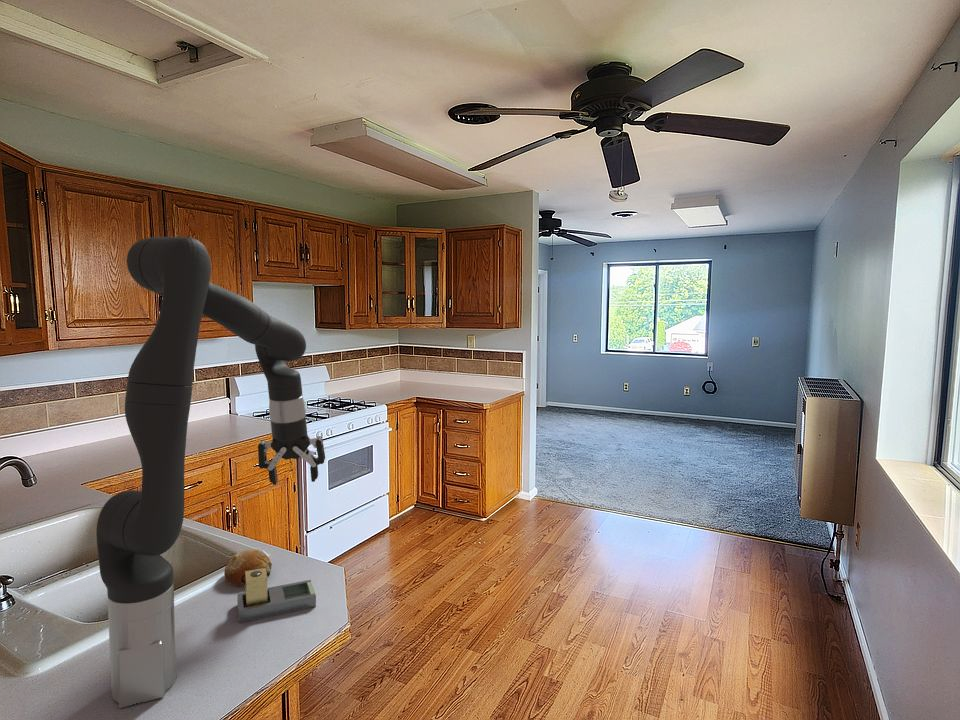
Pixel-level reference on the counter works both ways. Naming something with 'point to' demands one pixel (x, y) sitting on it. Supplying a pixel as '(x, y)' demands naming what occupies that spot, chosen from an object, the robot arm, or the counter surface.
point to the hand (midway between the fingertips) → (294, 481)
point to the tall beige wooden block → (256, 587)
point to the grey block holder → (279, 601)
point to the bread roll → (245, 565)
